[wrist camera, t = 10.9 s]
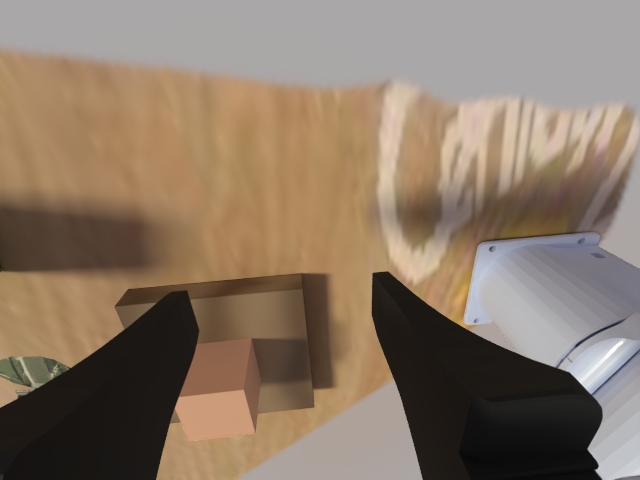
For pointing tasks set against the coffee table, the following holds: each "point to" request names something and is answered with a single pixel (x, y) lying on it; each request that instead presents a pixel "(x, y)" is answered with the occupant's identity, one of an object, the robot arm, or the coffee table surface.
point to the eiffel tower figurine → (30, 371)
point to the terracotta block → (220, 391)
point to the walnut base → (248, 329)
